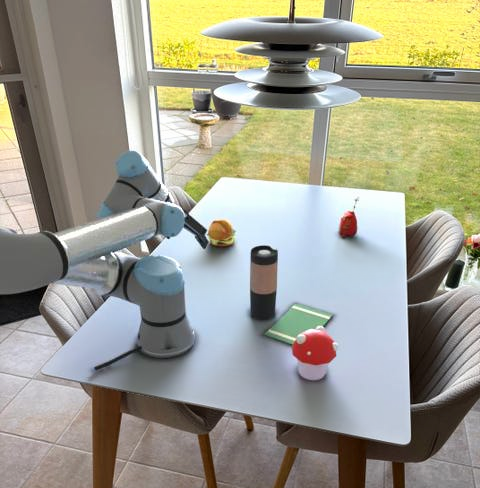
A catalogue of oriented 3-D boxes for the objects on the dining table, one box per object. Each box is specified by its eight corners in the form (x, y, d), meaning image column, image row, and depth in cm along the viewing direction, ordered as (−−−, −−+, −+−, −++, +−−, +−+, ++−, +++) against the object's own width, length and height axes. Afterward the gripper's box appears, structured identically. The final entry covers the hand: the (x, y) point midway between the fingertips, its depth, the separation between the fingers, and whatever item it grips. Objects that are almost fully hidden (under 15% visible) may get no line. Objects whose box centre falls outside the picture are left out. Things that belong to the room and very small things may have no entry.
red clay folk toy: (336, 231, 197) (340, 193, 189) (354, 230, 198) (358, 193, 189) (340, 239, 191) (344, 200, 183) (358, 238, 191) (363, 200, 183)
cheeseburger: (239, 237, 192) (238, 215, 185) (231, 255, 186) (229, 233, 178) (214, 234, 195) (211, 212, 187) (205, 251, 188) (202, 229, 181)
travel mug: (249, 320, 145) (249, 257, 134) (249, 305, 152) (250, 244, 141) (276, 320, 145) (278, 257, 134) (275, 306, 152) (278, 245, 140)
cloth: (303, 349, 134) (304, 348, 134) (264, 335, 139) (264, 334, 139) (332, 315, 147) (332, 314, 147) (295, 304, 152) (295, 303, 152)
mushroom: (331, 359, 130) (336, 320, 123) (336, 387, 121) (342, 347, 114) (290, 358, 130) (292, 319, 124) (292, 386, 121) (294, 346, 115)
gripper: (199, 195, 132) (227, 239, 150) (128, 179, 143) (161, 222, 161) (186, 218, 130) (216, 260, 148) (115, 201, 141) (150, 241, 159)
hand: (187, 240), depth 155 cm, fingers open, 13 cm apart
